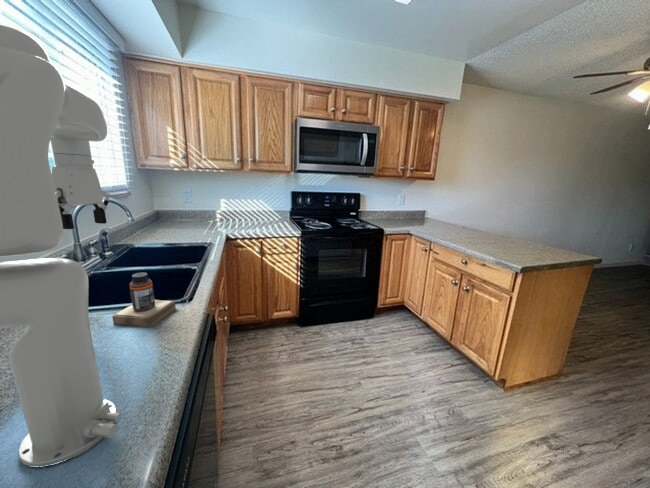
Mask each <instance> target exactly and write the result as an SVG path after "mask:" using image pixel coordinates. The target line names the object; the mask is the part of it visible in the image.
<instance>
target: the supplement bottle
mask: <svg viewBox="0 0 650 488" xmlns="http://www.w3.org/2000/svg"><path fill="white" fill-rule="evenodd" d="M129 292H130V299H131V305H132V306H133V310H134V311H138V312H141V311H147V310H150V309H152V308H153V307H154V306H155V300H156V299H155V294H154V293H155V292H154V285H153V281H152V280H151V279H150V278H149V274H148V273H147V272H136V273H133V274H132V275H131V282H129Z"/></svg>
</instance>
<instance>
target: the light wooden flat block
mask: <svg viewBox="0 0 650 488" xmlns="http://www.w3.org/2000/svg"><path fill="white" fill-rule="evenodd" d="M174 309H175V310H176V309H177V308H176V301H173V300H162V299H161V300H160V299H155V306H154V307H153V308H152V309H150V310H147V311H141V312H138V311H134V310H133V306H132V304H130V305H128V306H127V307H125V308H124V309H122V310H120V311H118V312H117V313H115V314H113V315H112V324H113V325H120V324H123V325H122V326H132V327H134V326H135V327H147V328H151V327H153V326H154V325H156V324H157V323H158V322H160V321H161V320H162V319H164V318H165V317H166V316H169V314H170V312H171V313H172V312H174V311H175V310H174Z"/></svg>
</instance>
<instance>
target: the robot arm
mask: <svg viewBox="0 0 650 488" xmlns="http://www.w3.org/2000/svg"><path fill="white" fill-rule="evenodd" d="M103 113H104V112H103V110H102V108H101V106H100V105H99V104H98V102H97V101H96V100H95V99H94V98H93V97H91V96H90V95H88V94H86V93H84V92H83V91H81V90H79V89H77V88H75V87H73V86H71V85H69V84H68V83H67V82H66V83H65V81H64V79H63V75H62V74H61V72H60V71H59V69H58V68H57V67H56V66H55V65H54V64H53V63H52V59H50V57H49V54H48V53H47V52H46V50H45V49H44V48H43V46H42V45H41V44H40V42H38V41H37V40H36V39H34V38H33V37H32V36H30V35H29V34H27V33H25V32H23V31H21V30H19V29H17V28H15V27H12V26H8V25H5V24H2V23H0V258H7V257H8V258H10V257H19V256H26V255H34V254H35V255H36V254H42V253H45V252H49V251H52V250H54V249H55V248H57V247H58V246H59V245H60V244H61V242H62V240H63V236H64V230H74V229H75V226H74V220H73V216H72V215H73V214H71V213H70V211H71V210H72V208H73V207H78V206H90V205H91V206H92V208H94V209H93V210H92V213H93V219H94V223H96V224H101V225H102V224H107V217H106V212H105V211H106V210H107V206H108V204H109V200H110V194H109V193H108V192H106V191H104V190H102V188H101V184H100V183H101V182H100V180H99V176H98V174H97V171H96V168H94V164H95V161H94V159H93V157H92V152H91V146H90V142H101V141H104V140H105V139H106V138H107V135H108V126H107V125H108V124H107V121H106V118H105V115H104V114H103ZM50 145H51V149H52V154H53V160H54V165H55V166H52V168H51V166H50V160H49V149H50ZM87 272H88V271H86V268H85V267H84V266H83V265H82V264H81V263H79V262H78V261H75V260H73V259H69V258H64V257H63V258H62V257H42V258H41V257H40V258H30V259H21V260H19V259H18V260H8V261H1V262H0V330H1V329H7V328H15V327H26V329H25V330H24V332H23V333H22V334H20V336H18V338H17V340H16V341H15V342H14V343H13V345H12V347H11V348H10V351H9V355H8V361H9V366H10V370H11V373H12V376H13V379H14V380H13V381H14V383H15V384H14V385H15V388H16V391H17V395H18V399H19V403H20V405H21V406H20V407H21V409H22V414H23V417H24V420H25V423H26V427H27V428H26V429H27V430H28V433H27V434H26V436H25V437H24V438H23V439H22V441H21V443H20V445H19V446H18V447H19V448H18V451H17V452H18V453H17V454H18V459H19V460H21V461H20V462H22V463H23V465H24V464H25V465H27V466H26V467H28V466H39V467H40V466H45V465H50V464H54V463H57V462H60V461H64V460H66V459H70V458H72V457H74V458H76V457H77V455H78V456H80V455H81V454H83V453H85V452H86V451H88V450H90V449H91V448H92V447H94V446H96V445H97V444H98V443H99V442H100V441H101V440H102V439H103V438H105V439H111V438H113V437H114V436H115V435H116V433H117V431H118V430H119V428H118V427H119V426H118V424H115V423H118V422H120V421H121V419H122V416H123V414H122V412H118V411H117V408H116V405H115V404H114V403H113V402H112V401H111V400H107V399H104V396H103V392H102V391H103V389H102V385H101V380H100V376H99V370H98V363H97V359H96V353H95V348H94V343H93V337H92V332H91V326H90V325H91V324H90V318H89V317H90V315H89V307H88V306H89V305H88V302H89V288H90V287H89V277H88V273H87ZM75 456H76V457H75ZM72 459H73V458H72ZM70 460H71V459H70ZM22 463H21V464H22ZM25 465H24V466H25Z"/></svg>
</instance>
